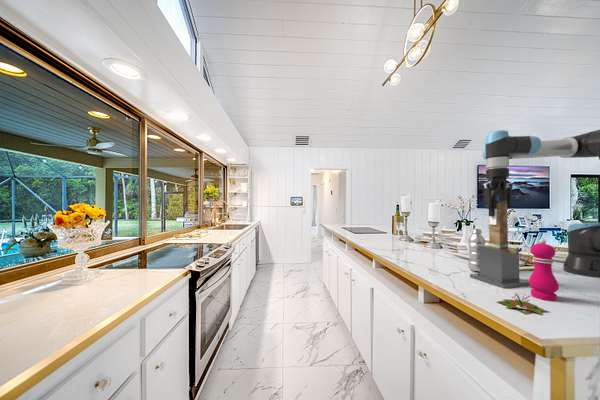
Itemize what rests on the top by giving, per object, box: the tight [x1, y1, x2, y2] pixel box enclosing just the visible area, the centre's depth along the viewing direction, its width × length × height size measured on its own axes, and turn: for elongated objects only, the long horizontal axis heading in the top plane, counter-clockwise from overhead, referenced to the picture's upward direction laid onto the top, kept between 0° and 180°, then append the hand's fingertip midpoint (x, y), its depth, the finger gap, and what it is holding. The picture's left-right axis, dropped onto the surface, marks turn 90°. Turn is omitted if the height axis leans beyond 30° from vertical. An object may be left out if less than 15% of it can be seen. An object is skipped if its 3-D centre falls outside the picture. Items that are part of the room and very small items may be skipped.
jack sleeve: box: [469, 245, 531, 289], centre depth 99 cm, size 14×14×14 cm
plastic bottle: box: [467, 228, 486, 273], centre depth 114 cm, size 6×7×20 cm
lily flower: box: [495, 292, 550, 316], centre depth 74 cm, size 12×12×5 cm
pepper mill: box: [528, 238, 560, 302], centre depth 82 cm, size 7×7×20 cm
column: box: [488, 200, 509, 249], centre depth 99 cm, size 4×4×25 cm
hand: (498, 224), depth 100 cm, fingers closed on column, 4 cm apart
